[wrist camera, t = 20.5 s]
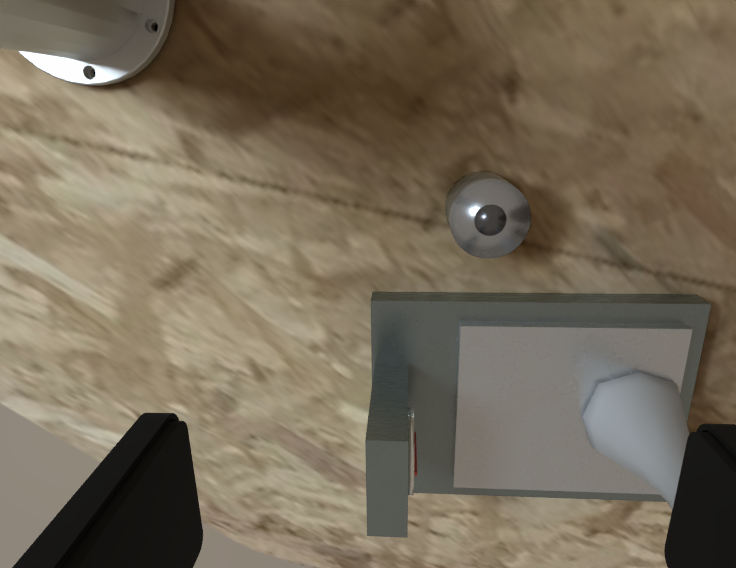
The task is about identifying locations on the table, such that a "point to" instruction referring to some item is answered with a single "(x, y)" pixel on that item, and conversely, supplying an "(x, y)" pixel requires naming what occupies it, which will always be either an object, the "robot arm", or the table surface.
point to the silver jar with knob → (487, 215)
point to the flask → (640, 428)
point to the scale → (511, 391)
